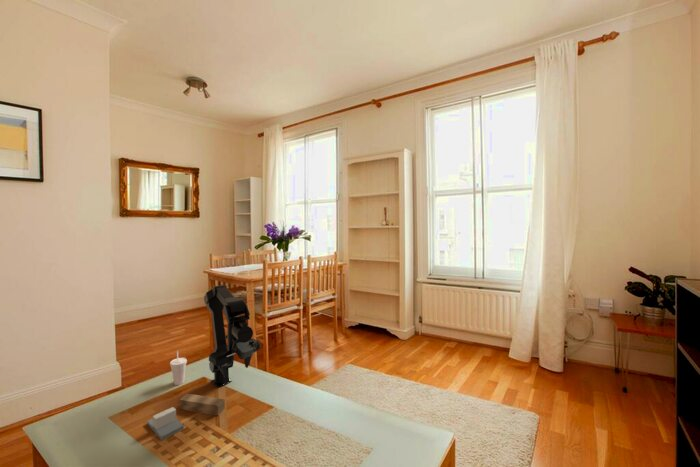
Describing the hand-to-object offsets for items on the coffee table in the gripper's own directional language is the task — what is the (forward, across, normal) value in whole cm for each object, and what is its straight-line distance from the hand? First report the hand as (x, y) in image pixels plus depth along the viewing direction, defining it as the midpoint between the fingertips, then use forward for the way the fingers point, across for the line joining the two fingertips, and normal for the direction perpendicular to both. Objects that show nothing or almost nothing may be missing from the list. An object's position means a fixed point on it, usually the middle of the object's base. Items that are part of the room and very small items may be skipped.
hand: (236, 372), depth 122 cm
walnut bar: (+13, -10, +6) cm, 18 cm away
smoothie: (+13, -8, +31) cm, 34 cm away
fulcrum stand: (+12, -23, +7) cm, 27 cm away
